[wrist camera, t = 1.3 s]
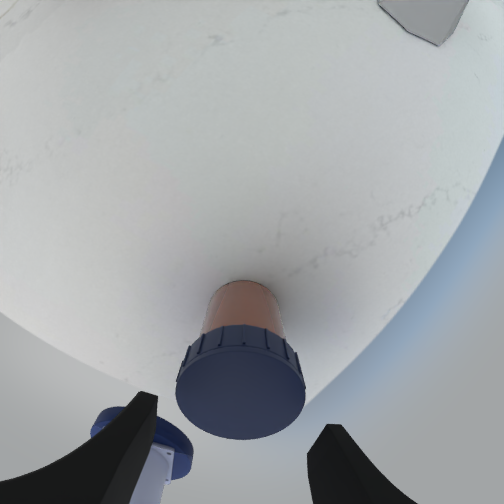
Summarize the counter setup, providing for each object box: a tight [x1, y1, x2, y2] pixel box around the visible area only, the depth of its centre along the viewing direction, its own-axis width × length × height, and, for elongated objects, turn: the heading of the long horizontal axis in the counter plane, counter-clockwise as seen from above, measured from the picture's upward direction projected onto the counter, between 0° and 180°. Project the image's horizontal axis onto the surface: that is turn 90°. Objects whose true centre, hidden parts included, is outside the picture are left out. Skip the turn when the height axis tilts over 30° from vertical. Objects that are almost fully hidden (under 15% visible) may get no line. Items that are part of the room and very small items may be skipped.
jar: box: [199, 281, 286, 339], centre depth 15 cm, size 5×5×8 cm
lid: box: [175, 324, 306, 440], centre depth 11 cm, size 5×5×2 cm
